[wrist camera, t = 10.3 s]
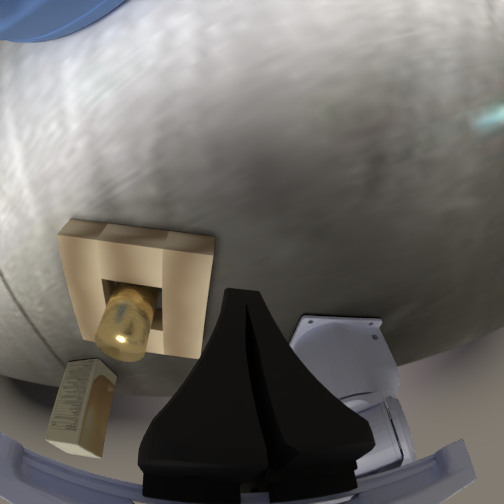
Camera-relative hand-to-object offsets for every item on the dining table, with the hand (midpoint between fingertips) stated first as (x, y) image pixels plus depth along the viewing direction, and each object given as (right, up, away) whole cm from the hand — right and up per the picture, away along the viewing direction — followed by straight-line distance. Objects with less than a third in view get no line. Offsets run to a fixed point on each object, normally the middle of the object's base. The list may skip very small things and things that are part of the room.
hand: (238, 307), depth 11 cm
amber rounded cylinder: (-9, 0, +12) cm, 15 cm away
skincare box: (-20, -13, +20) cm, 31 cm away
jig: (-9, -1, +12) cm, 15 cm away
